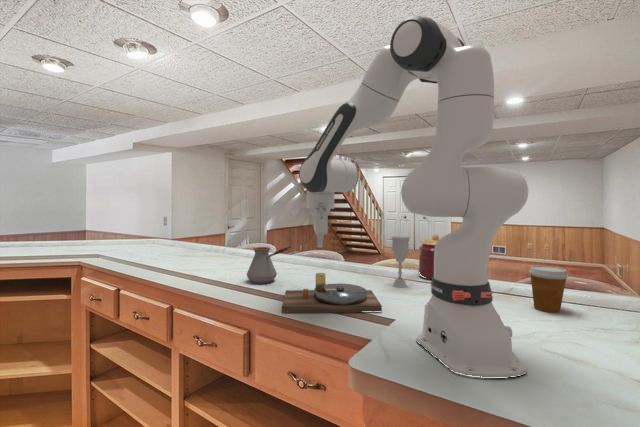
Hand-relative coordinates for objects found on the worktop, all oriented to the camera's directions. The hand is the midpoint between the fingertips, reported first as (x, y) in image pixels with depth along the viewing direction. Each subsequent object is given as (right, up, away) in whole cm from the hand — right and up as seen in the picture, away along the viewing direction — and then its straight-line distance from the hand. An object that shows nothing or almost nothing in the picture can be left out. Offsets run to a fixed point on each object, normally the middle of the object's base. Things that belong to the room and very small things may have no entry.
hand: (320, 247), depth 106 cm
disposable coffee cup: (+66, -18, -8) cm, 69 cm away
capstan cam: (+6, -15, -4) cm, 17 cm away
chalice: (+30, -16, +18) cm, 38 cm away
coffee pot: (-19, -16, +20) cm, 32 cm away
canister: (+47, -16, +31) cm, 59 cm away
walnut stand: (+3, -17, -4) cm, 18 cm away
